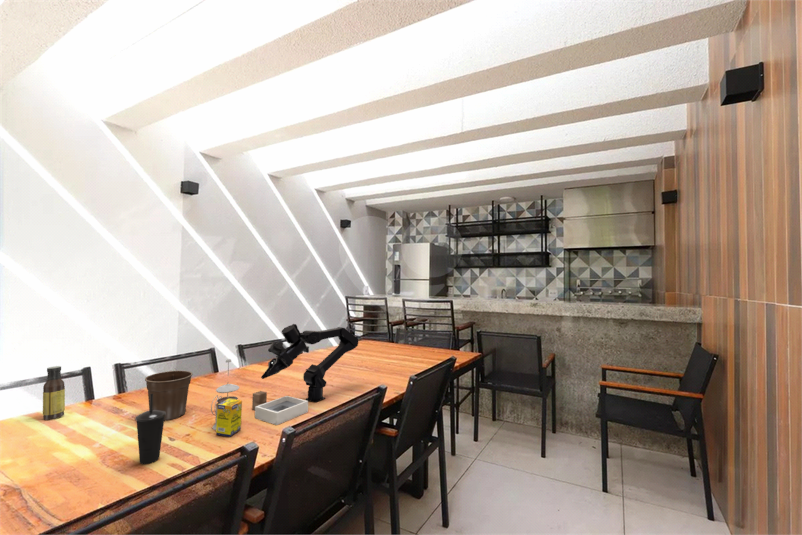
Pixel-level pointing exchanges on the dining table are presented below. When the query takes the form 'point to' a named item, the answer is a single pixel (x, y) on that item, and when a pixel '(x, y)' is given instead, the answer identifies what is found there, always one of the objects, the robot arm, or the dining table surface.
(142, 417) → the drinking cup
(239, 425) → the supplement box
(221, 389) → the french press
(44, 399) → the sauce bottle
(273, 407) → the socket plate
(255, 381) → the dining table surface
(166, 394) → the plant pot
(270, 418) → the tray
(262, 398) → the peg
